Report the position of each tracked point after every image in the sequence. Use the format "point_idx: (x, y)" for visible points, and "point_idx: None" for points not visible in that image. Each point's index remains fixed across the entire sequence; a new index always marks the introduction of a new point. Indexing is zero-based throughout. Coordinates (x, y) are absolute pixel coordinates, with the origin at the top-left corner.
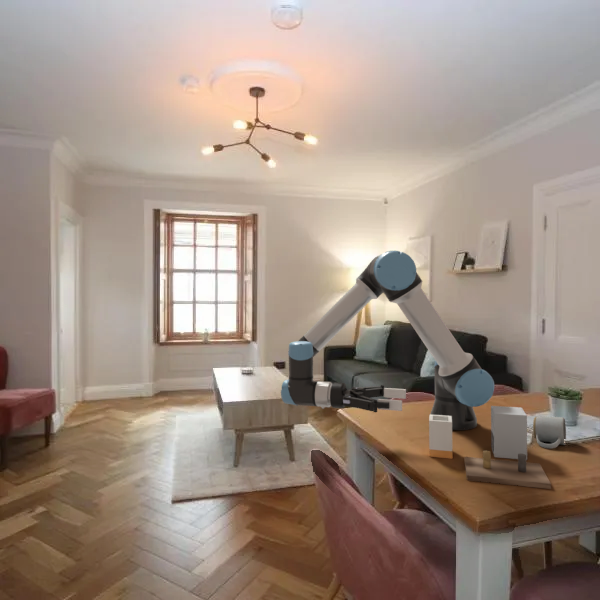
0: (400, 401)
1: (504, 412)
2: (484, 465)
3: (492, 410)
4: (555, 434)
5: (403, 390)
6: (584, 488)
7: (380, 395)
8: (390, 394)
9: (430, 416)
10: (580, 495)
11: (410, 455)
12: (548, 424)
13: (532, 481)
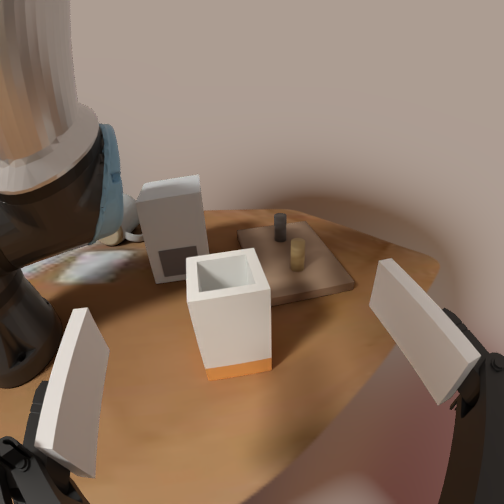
0: (396, 264)
1: (187, 187)
2: (303, 265)
3: (164, 200)
4: (136, 215)
5: (86, 322)
6: (280, 212)
7: (84, 499)
8: (85, 421)
9: (213, 295)
10: (303, 214)
11: (291, 413)
12: (125, 208)
13: (311, 231)
